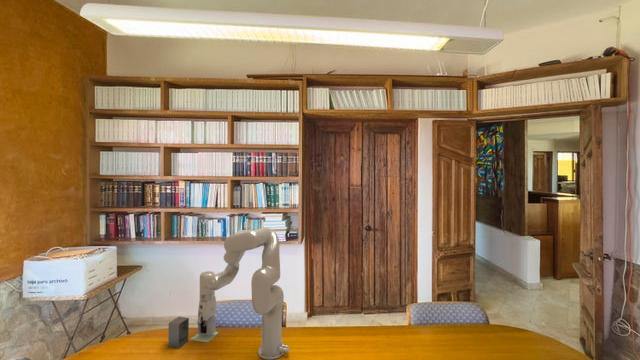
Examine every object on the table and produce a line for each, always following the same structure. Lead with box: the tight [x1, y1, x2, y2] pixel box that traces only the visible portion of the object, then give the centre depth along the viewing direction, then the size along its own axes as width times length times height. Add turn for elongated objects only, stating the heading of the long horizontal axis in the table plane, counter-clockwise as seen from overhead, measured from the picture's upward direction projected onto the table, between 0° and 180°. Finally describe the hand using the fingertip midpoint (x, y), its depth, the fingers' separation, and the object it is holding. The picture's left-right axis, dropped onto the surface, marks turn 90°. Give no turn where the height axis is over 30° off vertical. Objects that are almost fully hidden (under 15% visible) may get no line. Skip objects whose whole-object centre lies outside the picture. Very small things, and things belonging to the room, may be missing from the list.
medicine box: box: [197, 314, 217, 335], centre depth 153 cm, size 8×4×9 cm, turn 84°
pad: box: [189, 331, 220, 343], centre depth 153 cm, size 10×10×1 cm
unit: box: [167, 316, 190, 350], centre depth 145 cm, size 6×7×12 cm
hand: (206, 329), depth 153 cm, fingers closed on medicine box, 4 cm apart
